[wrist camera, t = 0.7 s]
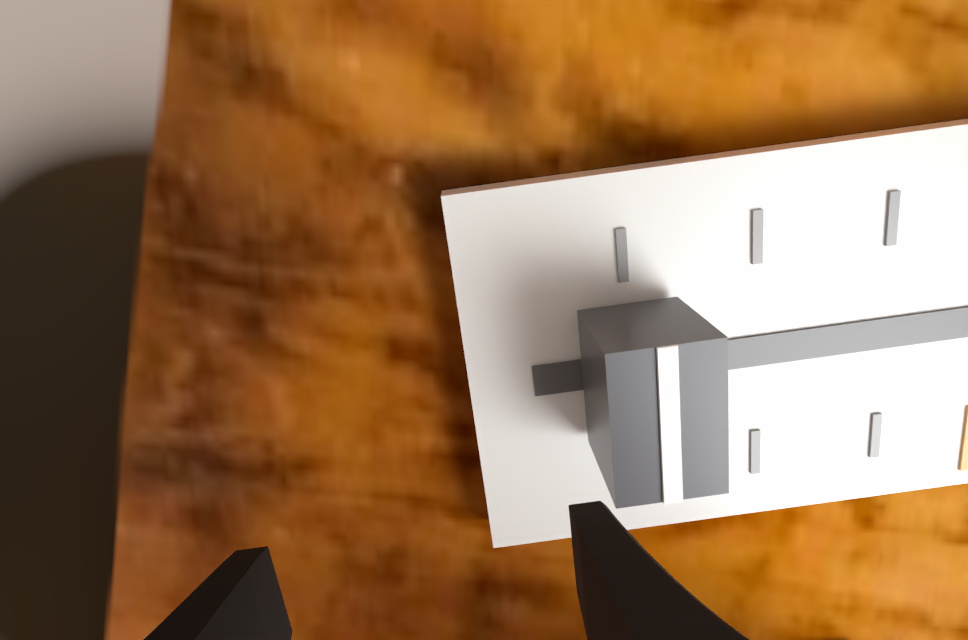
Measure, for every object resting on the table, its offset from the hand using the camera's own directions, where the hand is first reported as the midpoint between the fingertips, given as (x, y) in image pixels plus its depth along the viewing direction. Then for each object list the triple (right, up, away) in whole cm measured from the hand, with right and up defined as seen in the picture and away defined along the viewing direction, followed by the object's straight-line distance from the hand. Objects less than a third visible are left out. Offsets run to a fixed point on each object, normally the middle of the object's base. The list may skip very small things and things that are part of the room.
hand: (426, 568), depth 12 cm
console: (+13, +5, +9) cm, 17 cm away
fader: (+6, +3, +7) cm, 10 cm away
